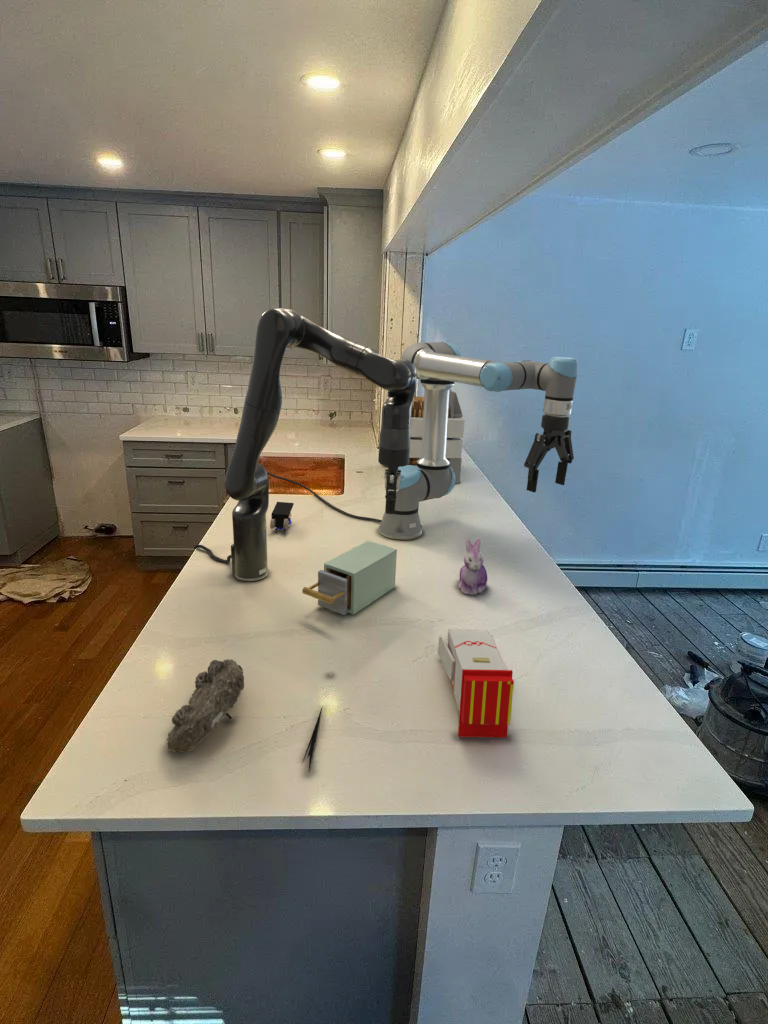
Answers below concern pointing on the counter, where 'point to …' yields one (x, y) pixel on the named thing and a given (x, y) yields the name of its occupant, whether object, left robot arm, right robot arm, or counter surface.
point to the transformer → (453, 433)
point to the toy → (478, 682)
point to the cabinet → (366, 572)
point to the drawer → (332, 591)
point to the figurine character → (281, 516)
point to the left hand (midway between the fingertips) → (390, 507)
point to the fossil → (206, 705)
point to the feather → (313, 740)
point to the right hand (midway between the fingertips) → (545, 487)
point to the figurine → (473, 570)
